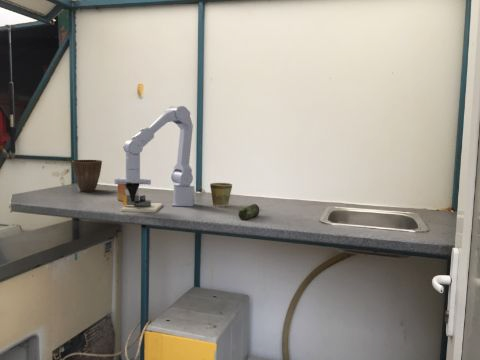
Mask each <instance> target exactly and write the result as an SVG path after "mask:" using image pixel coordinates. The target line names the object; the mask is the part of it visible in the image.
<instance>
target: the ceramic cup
mask: <svg viewBox="0 0 480 360" xmlns="http://www.w3.org/2000/svg"><path fill="white" fill-rule="evenodd" d="M209 185H210V192H211V198H212V199H211V200H212V206H213V205H214V206H213V207H216V206H217V207H218V208H225V206H227V207H229V203H230V202H229V201H230V198H231V193H232V189H233V183H228V182H212V183H210V184H209ZM217 207H216V208H217Z"/></svg>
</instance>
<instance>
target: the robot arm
mask: <svg viewBox="0 0 480 360" xmlns="http://www.w3.org/2000/svg"><path fill="white" fill-rule="evenodd" d="M171 122H172V123H174V124H176V125H177V127H178V128H179V137H178V138H179V139H178V147H177V148H178V149H177V160H176V164H175V165H174V167H173V170H172V173H171V177H170V179H171V181H172V182H173V202H172V204H171V205H170V206H172V207H193V206H194V205H195V191H196V190H195V186H194V185H191V184H192V183H193V179H194V175H193V170H192V169H193V168H192V167H191V166H190V157H191V148H192V138H193V130H194V129H193V128H194V126H193V122H192V118H191V111H190V110H189V109H188V108H187V107H186V106H184V105H180V106H179V105H178V106H169V107H168V108H167V109H166V110H164V111H163V112H162V114H161V115H159V116H158V118H156V120H155V121H153V122H152V124H150V126H148V127H145V126H144V127H142V128H139V132H138V133H136V134H135V135H134V136H131V139H129V140H126V141H125V143H124V146H123V150H124V151H123V152H125V178H126V179H118V178H115V179H114V185H118V184H126V187H127V189H128V191H129V194H130V197H131V202H134V201H135V195H136V192H137V190H138V191H139V187H140V185H148V186H150V185H151V184H152V180H151V179H145V178H141V153H142V151H143V149H144V147H145V146H146V145H148V144H149V143H150V142H151V141H152V140H153V139H154V138H155V133H156V132H158V131H159V130H160V129H161V128H162V127H164V126H165V125H166V124H167V123H171ZM128 182H137V183H128Z"/></svg>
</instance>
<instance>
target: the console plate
mask: <svg viewBox="0 0 480 360" xmlns="http://www.w3.org/2000/svg"><path fill="white" fill-rule="evenodd" d="M162 206H163V202H151V206H150V207H135V206H134V205H123V206H122V207H121V208H120V212H129V213H130V212H132V213H157V211H158V210H159V209H160V208H162Z"/></svg>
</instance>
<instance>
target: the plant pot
mask: <svg viewBox="0 0 480 360" xmlns="http://www.w3.org/2000/svg"><path fill="white" fill-rule="evenodd" d="M71 163H72V164H71V165H72V171H73V175H74V177H75V181H76V183H77V186H78V188H79V191H80V192H83V191H84V192H87V193H89V191H90V192H95V191H96V189H97V186H98V183H99V180H100V177H101V172H102V165H103V164H102V163H103V160H101V159H75V160H71Z"/></svg>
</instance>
